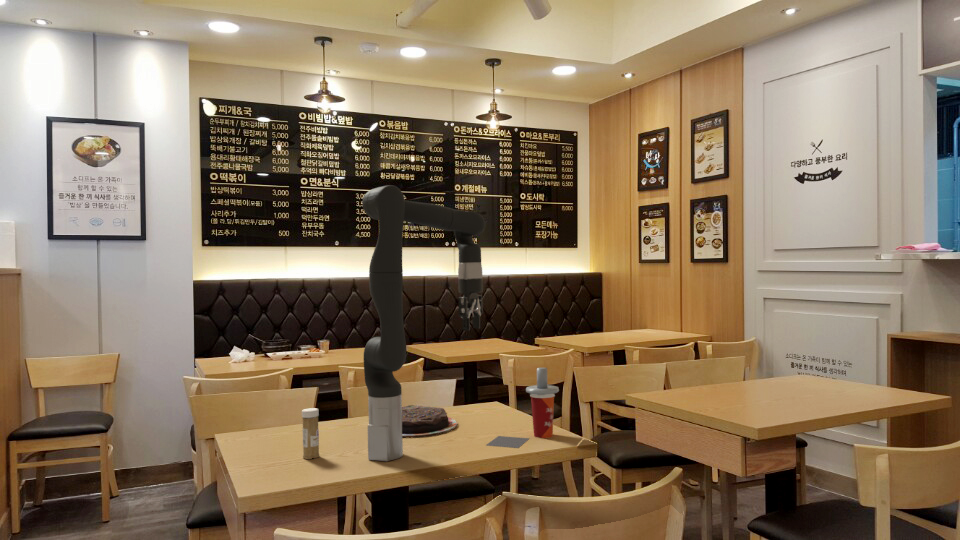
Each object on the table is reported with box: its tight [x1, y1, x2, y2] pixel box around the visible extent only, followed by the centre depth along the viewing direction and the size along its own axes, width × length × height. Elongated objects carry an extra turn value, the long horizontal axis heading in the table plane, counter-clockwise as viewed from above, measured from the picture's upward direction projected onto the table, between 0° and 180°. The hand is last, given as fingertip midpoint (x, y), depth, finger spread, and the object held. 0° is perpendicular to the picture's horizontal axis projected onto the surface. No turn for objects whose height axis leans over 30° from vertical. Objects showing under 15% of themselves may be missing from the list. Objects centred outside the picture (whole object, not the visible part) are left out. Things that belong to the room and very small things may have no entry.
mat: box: [485, 435, 530, 449], centre depth 188 cm, size 11×10×1 cm
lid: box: [525, 367, 560, 394], centre depth 195 cm, size 10×10×7 cm
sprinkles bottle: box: [301, 407, 320, 460], centre depth 178 cm, size 5×5×13 cm
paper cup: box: [529, 393, 556, 439], centre depth 195 cm, size 8×8×14 cm
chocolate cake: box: [402, 404, 458, 439], centre depth 211 cm, size 28×28×7 cm
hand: (471, 329), depth 198 cm, fingers open, 8 cm apart
